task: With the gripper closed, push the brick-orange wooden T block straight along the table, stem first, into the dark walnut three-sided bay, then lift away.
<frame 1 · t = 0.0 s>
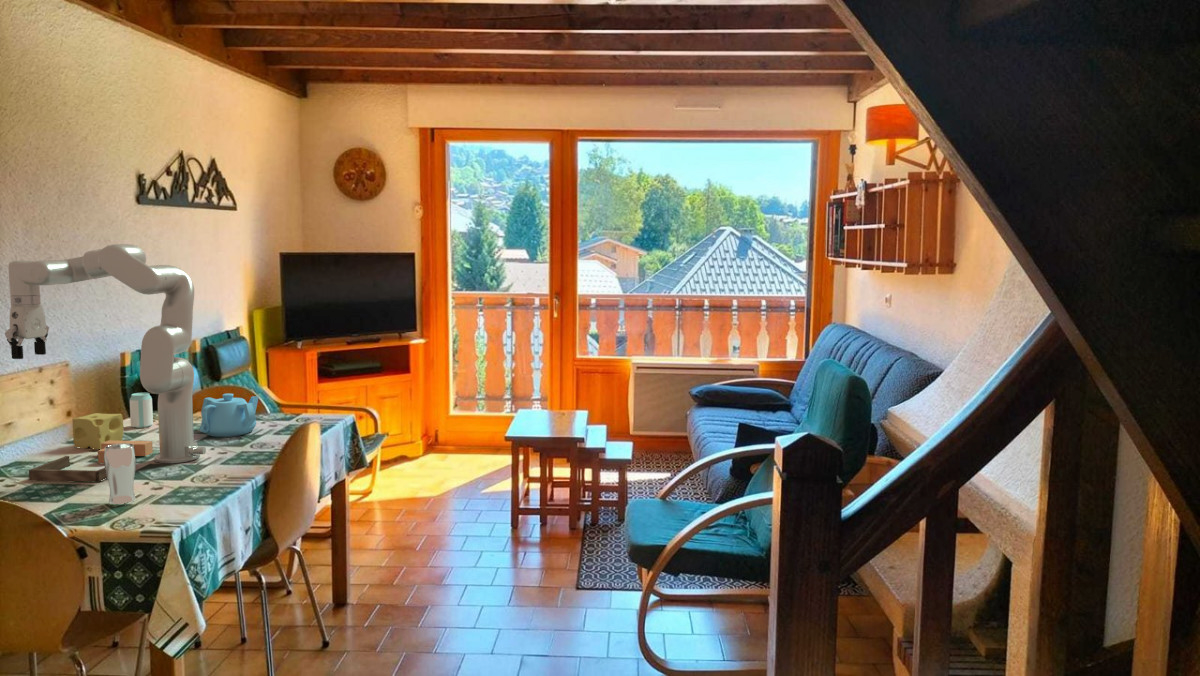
hand: (29, 356, 253), 31 cm above the table, tool pointing down, fingers open, 9 cm apart
beer glass: (122, 503, 213), on the table
bay: (82, 473, 238), on the table
cheese: (98, 446, 271), on the table
t block: (118, 458, 255), on the table
teapot: (230, 432, 293), on the table
can: (142, 427, 298), on the table
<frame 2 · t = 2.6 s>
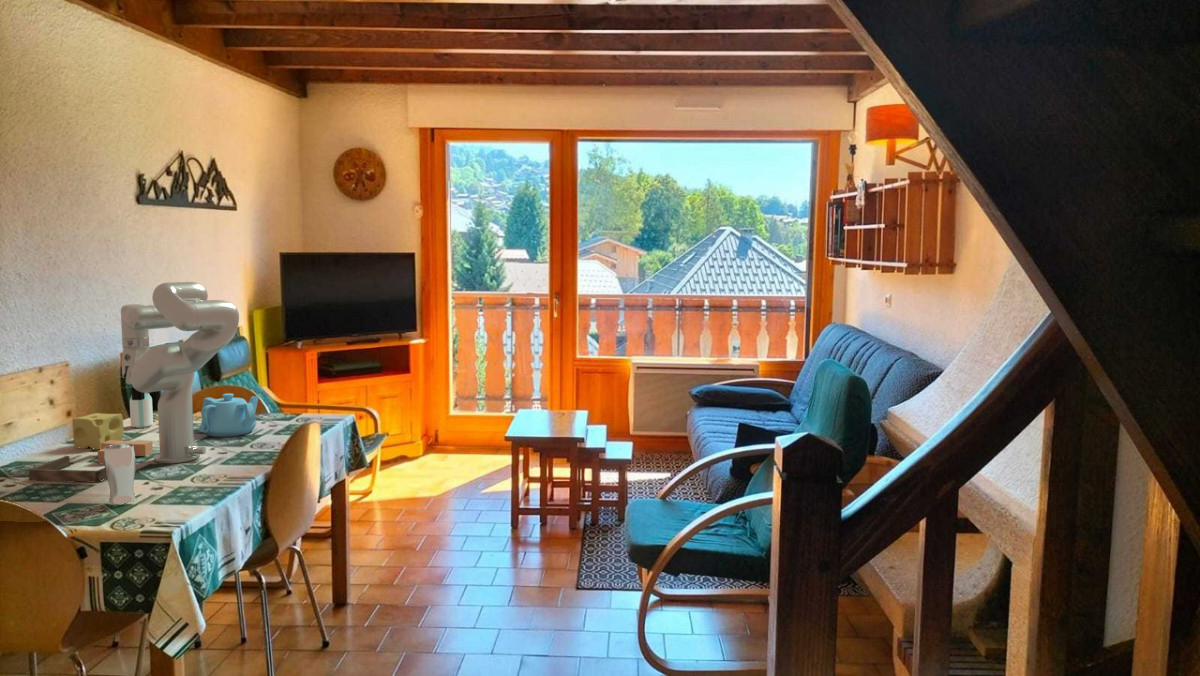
hand: (138, 399, 265), 16 cm above the table, tool pointing down, fingers closed
nothing on the table moved.
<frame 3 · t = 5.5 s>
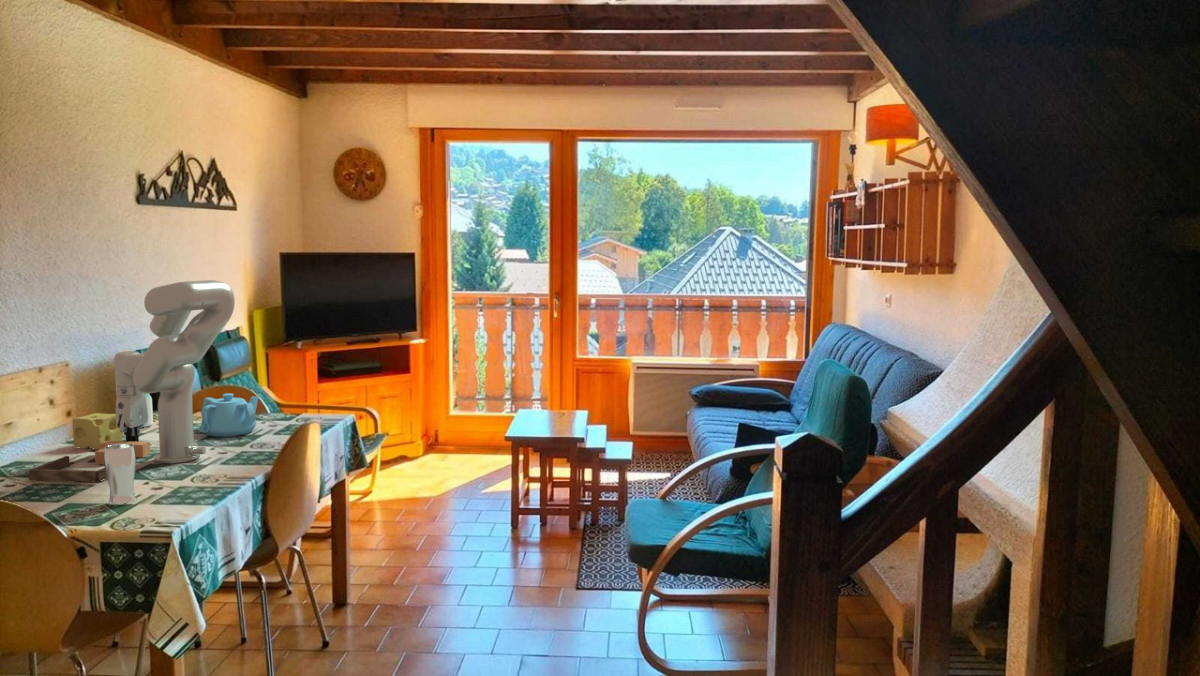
hand: (132, 447, 263), 2 cm above the table, tool pointing down, fingers closed
t block: (116, 459, 254), on the table, touching gripper
everything else where it was.
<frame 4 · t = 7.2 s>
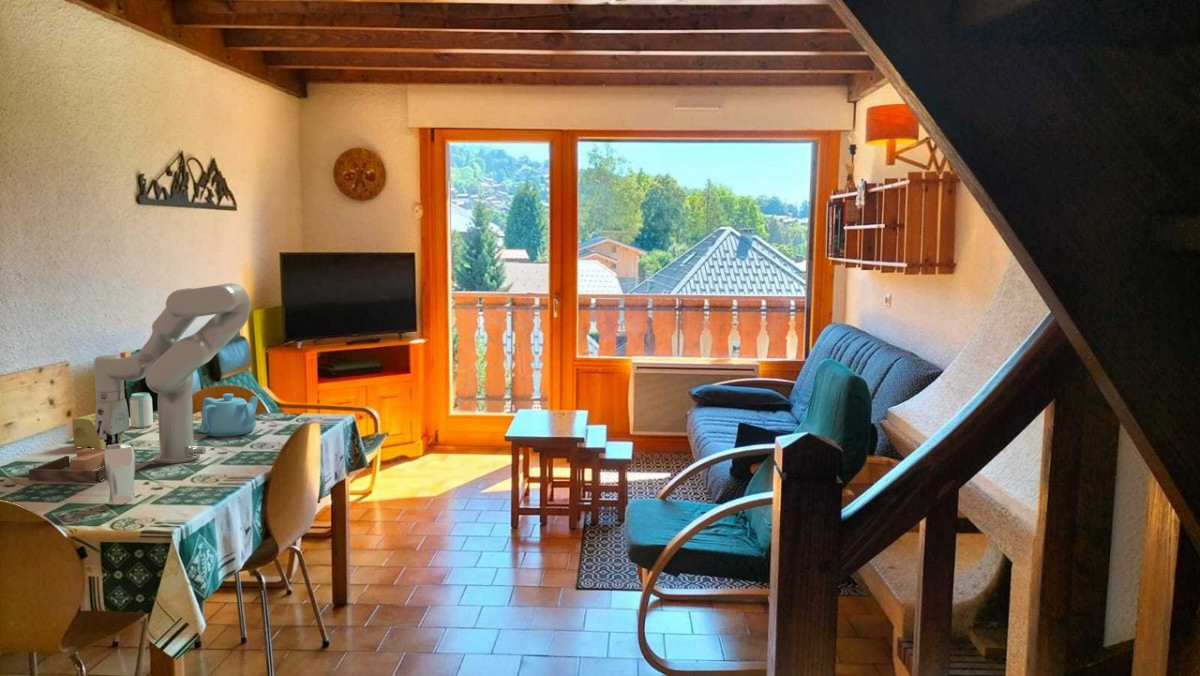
hand: (113, 454, 253), 2 cm above the table, tool pointing down, fingers closed
t block: (93, 467, 245), on the table, touching gripper
everything else where it was.
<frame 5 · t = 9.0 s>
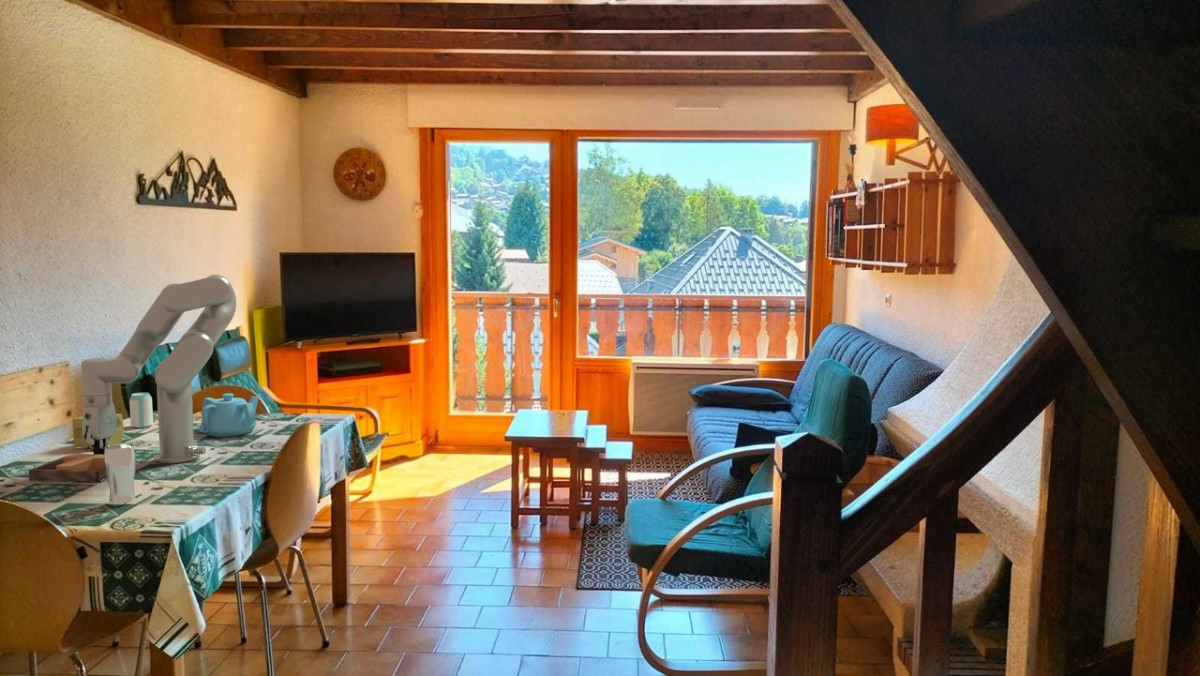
hand: (100, 460, 247), 2 cm above the table, tool pointing down, fingers closed
t block: (80, 473, 238), on the table, touching gripper
everything else where it was.
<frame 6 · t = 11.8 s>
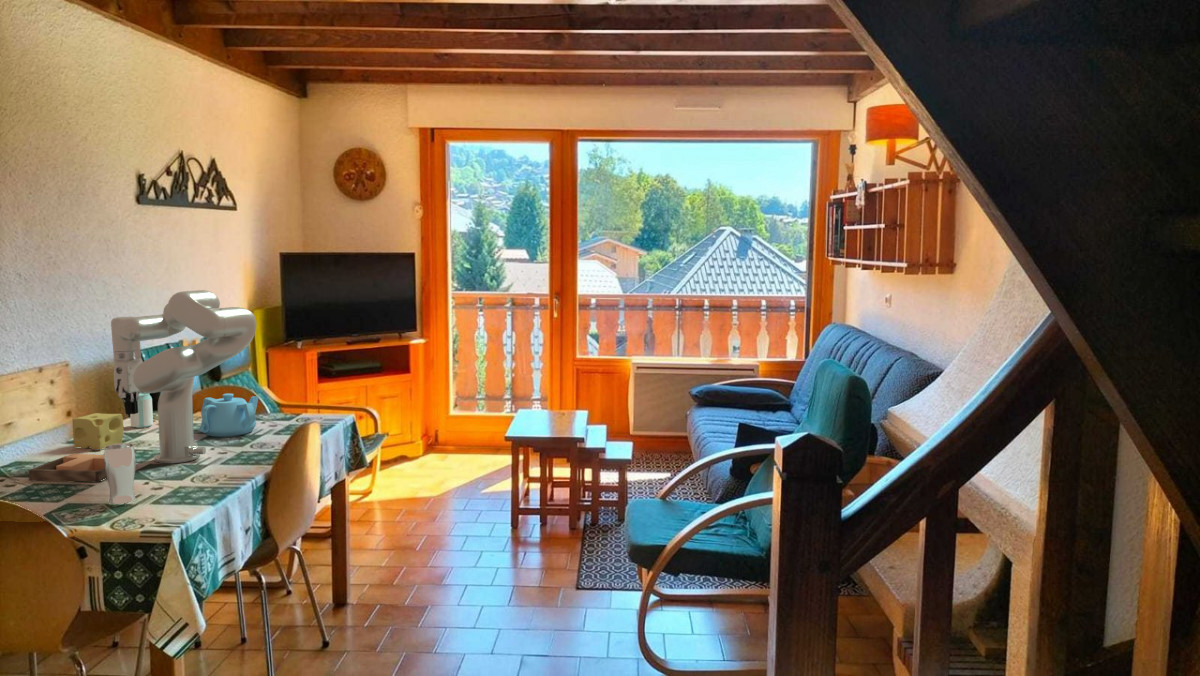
hand: (132, 413, 260), 13 cm above the table, tool pointing down, fingers closed
t block: (80, 473, 238), on the table
everything else where it was.
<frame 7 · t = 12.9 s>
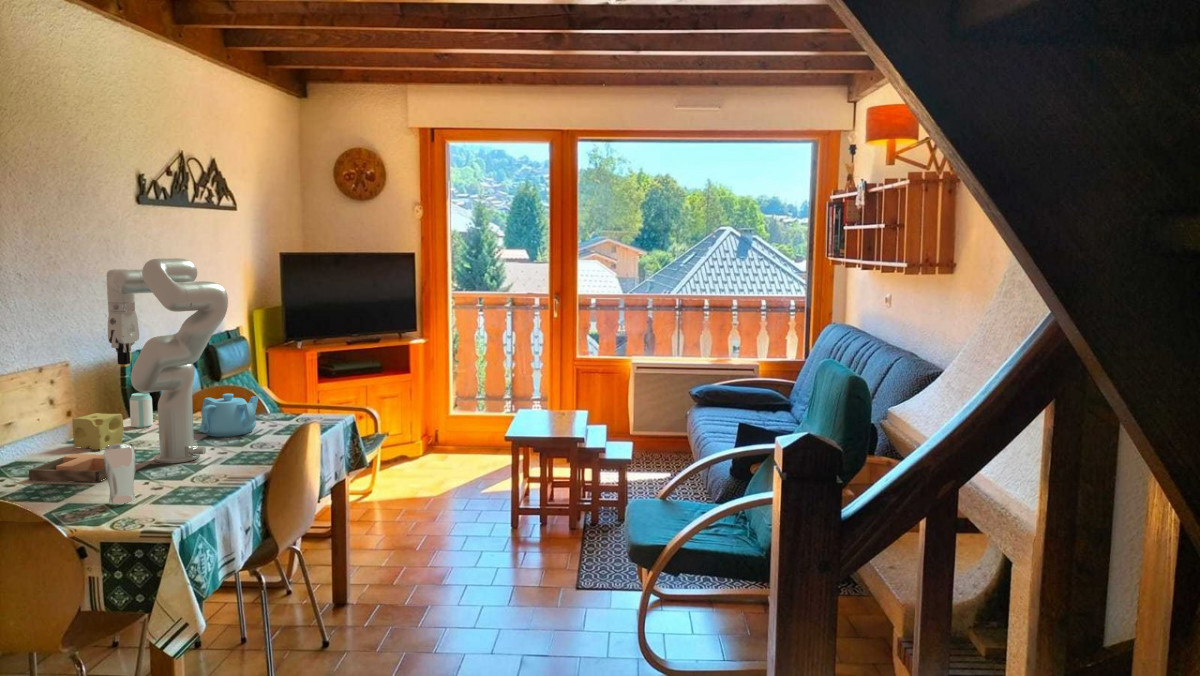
hand: (124, 364, 267), 27 cm above the table, tool pointing down, fingers closed
nothing on the table moved.
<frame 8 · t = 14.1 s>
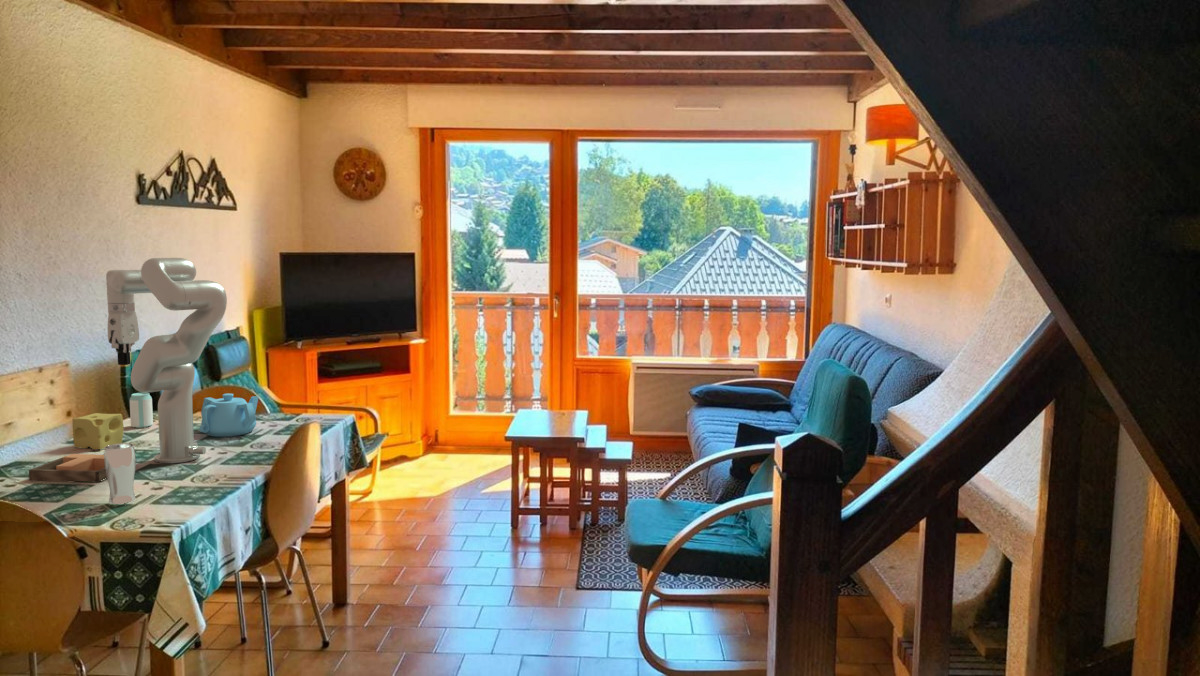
hand: (124, 364, 267), 27 cm above the table, tool pointing down, fingers closed
nothing on the table moved.
at the end: t block 0.6 cm from the target spot, on the table; t block tilted 0°; t block moved 17.0 cm from its start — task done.
